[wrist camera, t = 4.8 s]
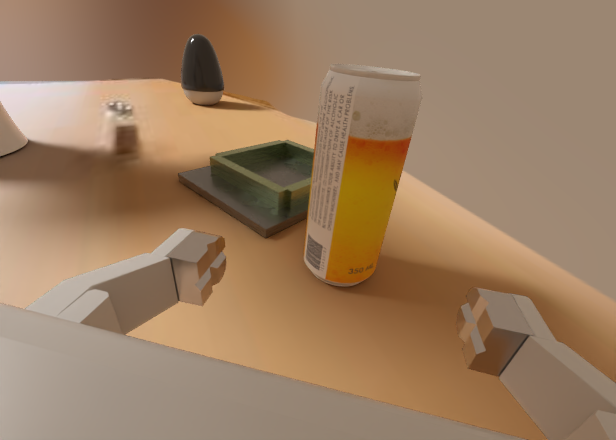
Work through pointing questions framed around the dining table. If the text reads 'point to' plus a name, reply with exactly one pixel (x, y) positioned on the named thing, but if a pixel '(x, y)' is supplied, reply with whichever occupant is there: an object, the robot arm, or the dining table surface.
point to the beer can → (357, 167)
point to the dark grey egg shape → (201, 72)
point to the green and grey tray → (258, 184)
